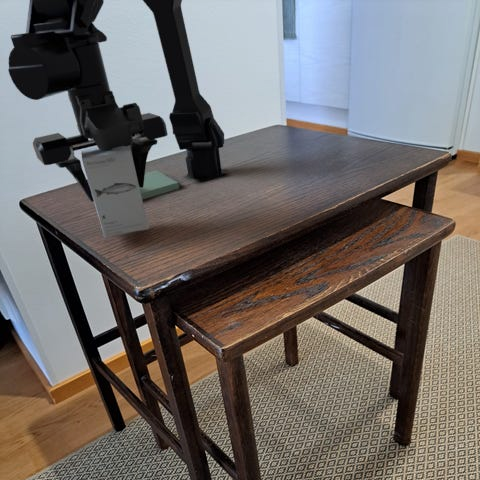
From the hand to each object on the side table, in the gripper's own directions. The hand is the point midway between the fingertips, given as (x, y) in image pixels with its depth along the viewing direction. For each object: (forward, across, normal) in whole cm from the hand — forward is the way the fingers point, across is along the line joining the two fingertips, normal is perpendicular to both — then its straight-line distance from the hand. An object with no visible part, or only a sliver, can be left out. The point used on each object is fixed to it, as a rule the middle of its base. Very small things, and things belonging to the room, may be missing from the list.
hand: (117, 194), depth 71 cm
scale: (+8, +10, +22) cm, 25 cm away
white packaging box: (+6, 0, 0) cm, 6 cm away
